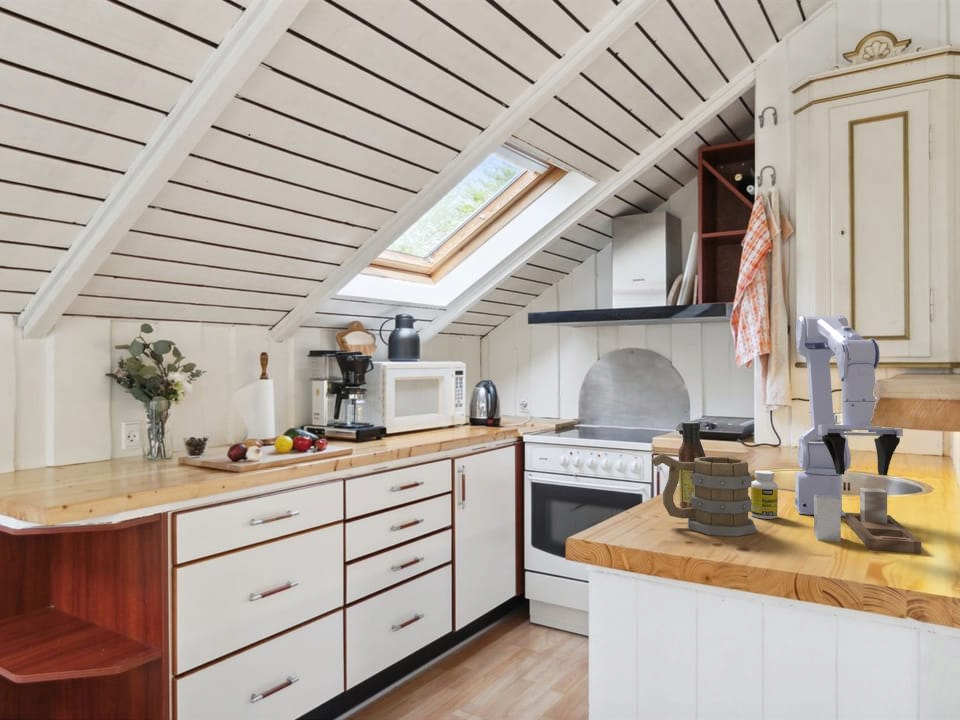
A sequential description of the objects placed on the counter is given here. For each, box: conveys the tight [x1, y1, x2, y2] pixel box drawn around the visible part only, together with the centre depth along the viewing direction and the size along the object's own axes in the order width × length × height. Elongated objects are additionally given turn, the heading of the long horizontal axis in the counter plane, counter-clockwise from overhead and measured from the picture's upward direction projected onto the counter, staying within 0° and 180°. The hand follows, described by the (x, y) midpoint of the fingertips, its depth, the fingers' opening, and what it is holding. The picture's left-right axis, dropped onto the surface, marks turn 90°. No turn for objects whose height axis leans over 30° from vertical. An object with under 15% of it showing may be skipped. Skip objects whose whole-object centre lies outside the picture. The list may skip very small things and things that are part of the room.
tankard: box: [651, 452, 756, 538], centre depth 143 cm, size 20×13×15 cm, turn 74°
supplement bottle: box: [750, 470, 779, 520], centre depth 153 cm, size 5×5×10 cm
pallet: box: [845, 487, 922, 554], centre depth 136 cm, size 8×22×8 cm, turn 162°
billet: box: [813, 494, 842, 543], centre depth 135 cm, size 4×4×8 cm
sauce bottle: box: [678, 421, 707, 508], centre depth 161 cm, size 7×6×20 cm
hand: (861, 474), depth 131 cm, fingers open, 7 cm apart
